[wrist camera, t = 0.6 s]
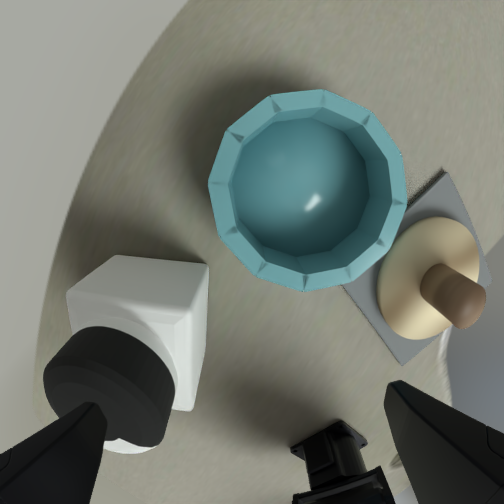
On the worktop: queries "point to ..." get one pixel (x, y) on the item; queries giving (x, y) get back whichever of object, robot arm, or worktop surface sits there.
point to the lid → (430, 279)
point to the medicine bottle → (133, 347)
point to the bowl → (308, 190)
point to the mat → (364, 287)
